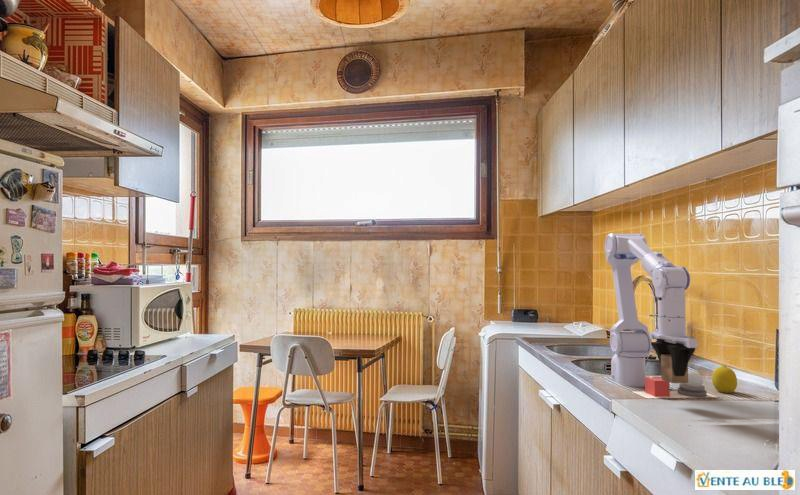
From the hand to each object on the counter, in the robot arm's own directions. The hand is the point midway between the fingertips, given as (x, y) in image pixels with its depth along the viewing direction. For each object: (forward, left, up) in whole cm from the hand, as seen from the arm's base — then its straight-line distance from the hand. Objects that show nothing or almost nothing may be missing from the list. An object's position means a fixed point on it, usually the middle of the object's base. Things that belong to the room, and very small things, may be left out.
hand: (673, 373), depth 111 cm
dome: (-9, +12, -6) cm, 16 cm away
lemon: (-11, +22, -9) cm, 26 cm away
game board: (-4, +7, -8) cm, 11 cm away
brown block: (0, 0, -2) cm, 2 cm away
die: (-9, +2, -7) cm, 12 cm away
